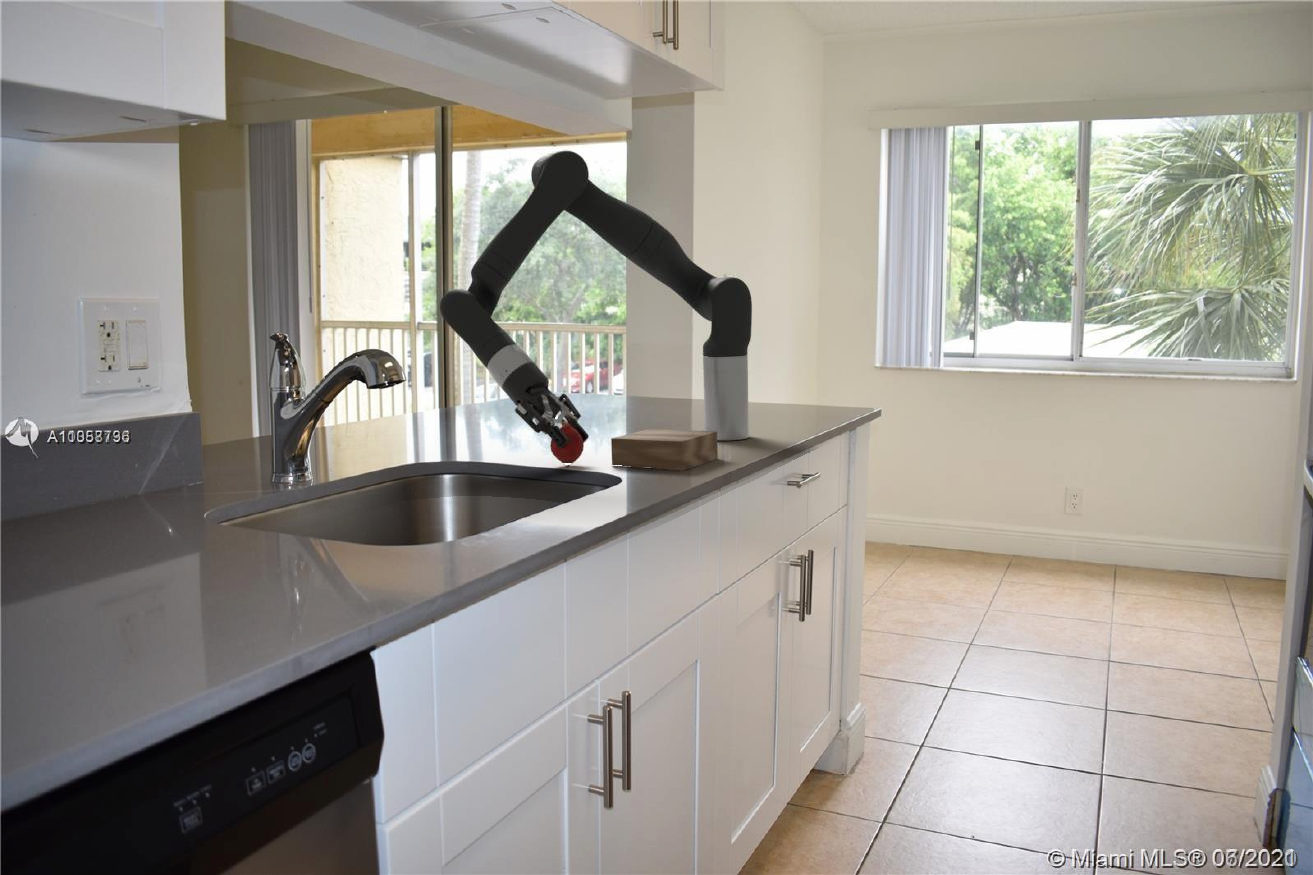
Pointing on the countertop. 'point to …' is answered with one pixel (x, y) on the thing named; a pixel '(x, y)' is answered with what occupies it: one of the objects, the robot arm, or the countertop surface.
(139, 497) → the countertop surface
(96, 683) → the countertop surface
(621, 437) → the walnut base
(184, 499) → the countertop surface
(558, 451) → the onion
